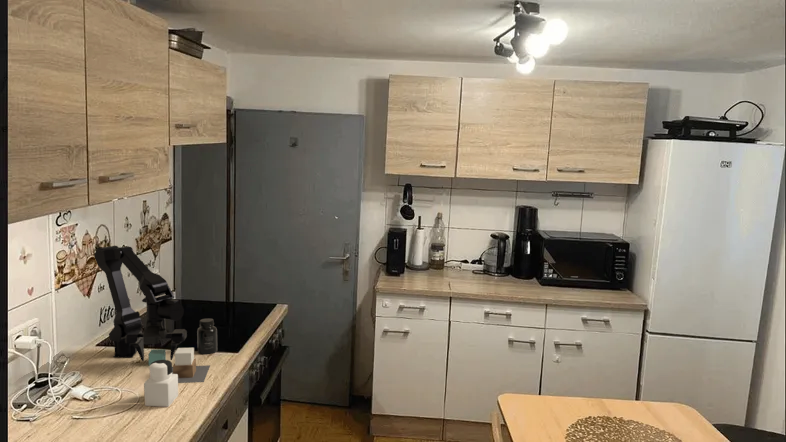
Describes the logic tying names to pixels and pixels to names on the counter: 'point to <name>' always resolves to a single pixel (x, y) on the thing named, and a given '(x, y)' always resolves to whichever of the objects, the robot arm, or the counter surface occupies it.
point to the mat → (196, 375)
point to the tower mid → (184, 356)
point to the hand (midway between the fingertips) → (157, 360)
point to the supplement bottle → (207, 337)
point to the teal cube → (157, 355)
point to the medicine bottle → (161, 384)
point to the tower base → (185, 370)
